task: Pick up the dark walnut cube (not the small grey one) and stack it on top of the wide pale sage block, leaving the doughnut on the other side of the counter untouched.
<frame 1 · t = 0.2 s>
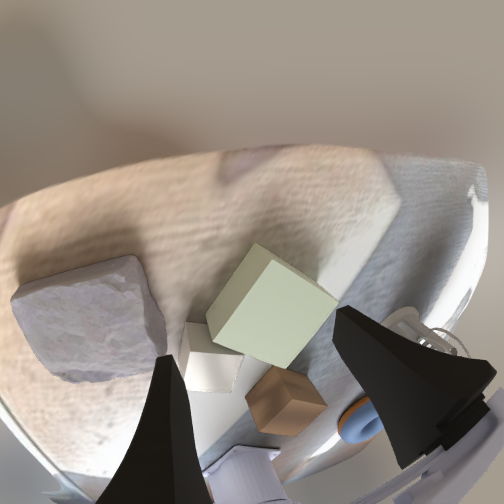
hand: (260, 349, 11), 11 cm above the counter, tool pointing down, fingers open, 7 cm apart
doughnut: (361, 409, 35), on the counter
walnut cube: (276, 386, 27), on the counter
sage block: (262, 296, 23), on the counter
grey cube: (204, 343, 23), on the counter
french press: (392, 334, 30), on the counter
stone block: (95, 318, 20), on the counter
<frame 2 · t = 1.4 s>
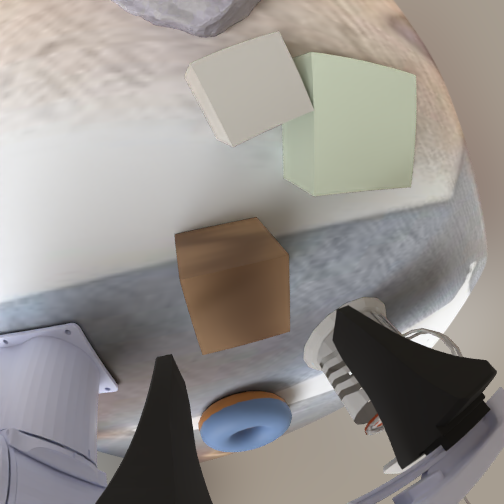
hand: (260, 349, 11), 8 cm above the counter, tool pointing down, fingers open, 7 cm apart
doughnut: (240, 408, 27), on the counter
walnut cube: (221, 260, 18), on the counter
sage block: (331, 120, 16), on the counter
grey cube: (233, 92, 13), on the counter
french press: (351, 329, 26), on the counter
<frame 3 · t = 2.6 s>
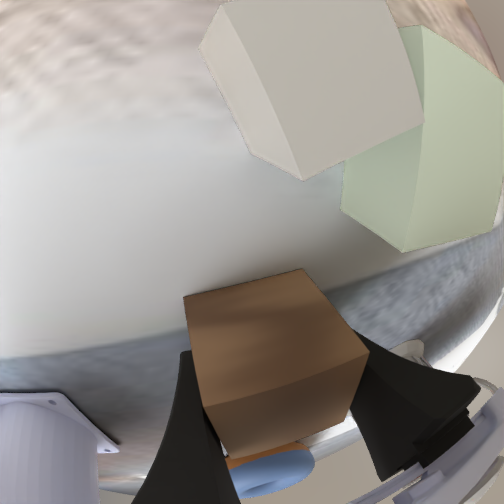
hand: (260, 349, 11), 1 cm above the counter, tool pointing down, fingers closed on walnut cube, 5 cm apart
doughnut: (257, 455, 22), on the counter
walnut cube: (250, 327, 12), on the counter, touching gripper
sage block: (404, 131, 10), on the counter
grey cube: (278, 78, 8), on the counter
french press: (387, 372, 20), on the counter
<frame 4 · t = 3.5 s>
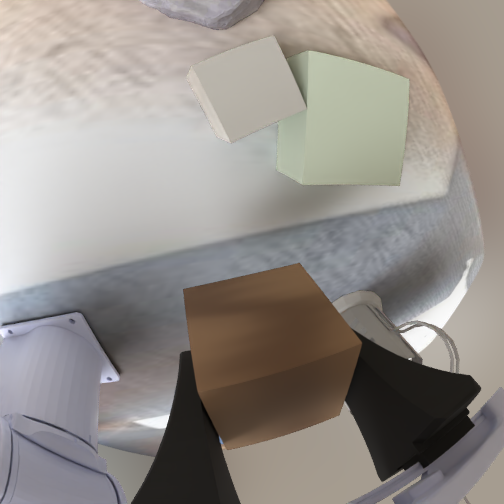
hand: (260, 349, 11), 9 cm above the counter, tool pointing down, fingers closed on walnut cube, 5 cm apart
walnut cube: (248, 320, 13), point 7 cm above the counter, touching gripper
sage block: (326, 118, 16), on the counter
grey cube: (232, 92, 14), on the counter
french press: (348, 322, 26), on the counter
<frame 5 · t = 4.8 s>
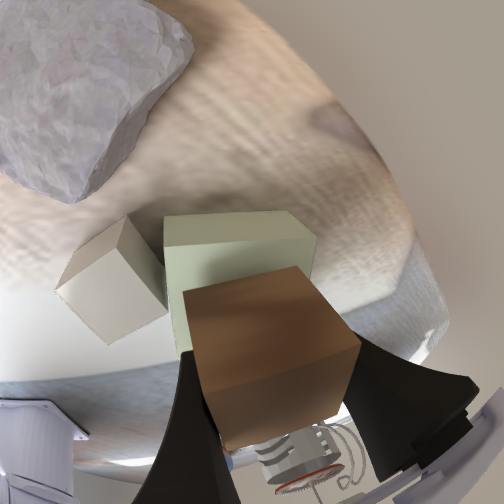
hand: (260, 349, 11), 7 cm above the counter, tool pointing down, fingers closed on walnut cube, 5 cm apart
walnut cube: (246, 321, 13), point 5 cm above the counter, touching gripper
sage block: (225, 265, 17), on the counter
grey cube: (119, 260, 15), on the counter
french press: (281, 404, 27), on the counter
stone block: (58, 84, 10), on the counter
when the fingers open (7 cm above the counter, at t = 5.2 s): walnut cube drops 1 cm, resting on sage block.
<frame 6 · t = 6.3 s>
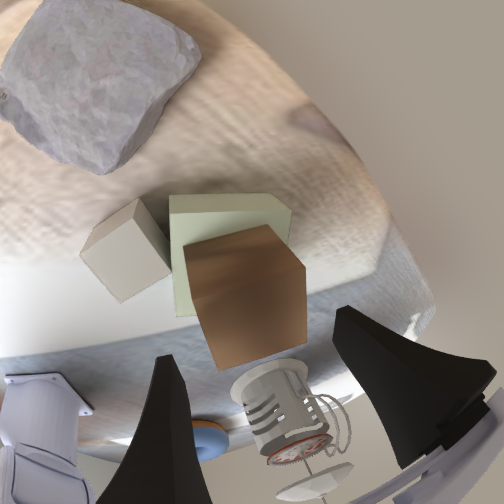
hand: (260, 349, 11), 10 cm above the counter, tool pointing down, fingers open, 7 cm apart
doughnut: (190, 430, 32), on the counter
walnut cube: (233, 271, 17), point 4 cm above the counter, touching sage block
sage block: (218, 239, 20), on the counter, touching walnut cube
grey cube: (131, 235, 18), on the counter
french press: (273, 379, 30), on the counter
stone block: (88, 80, 13), on the counter
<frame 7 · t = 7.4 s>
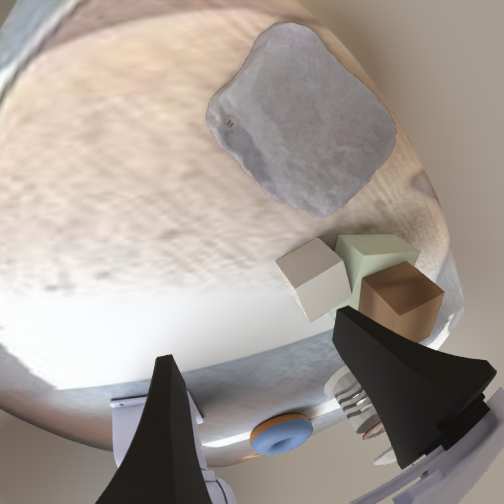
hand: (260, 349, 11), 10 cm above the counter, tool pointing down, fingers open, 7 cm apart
doughnut: (277, 424, 38), on the counter
walnut cube: (381, 292, 22), point 4 cm above the counter
sage block: (357, 266, 26), on the counter
grey cube: (303, 266, 23), on the counter
french press: (356, 371, 36), on the counter
stone block: (291, 125, 18), on the counter
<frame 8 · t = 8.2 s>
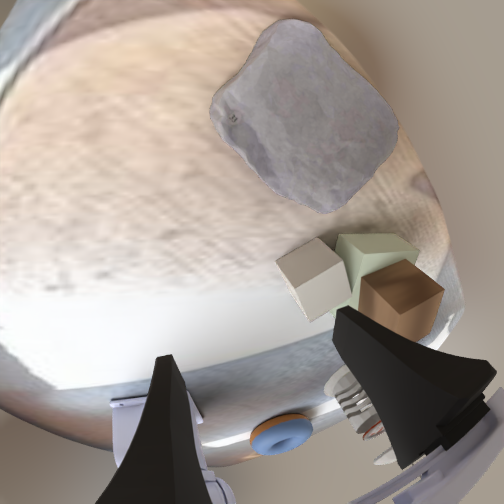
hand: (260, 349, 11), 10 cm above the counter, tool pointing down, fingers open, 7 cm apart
doughnut: (277, 425, 38), on the counter
walnut cube: (381, 290, 22), point 4 cm above the counter, touching sage block
sage block: (358, 265, 26), on the counter, touching walnut cube
grey cube: (303, 266, 23), on the counter
french press: (356, 371, 36), on the counter
stone block: (294, 122, 18), on the counter
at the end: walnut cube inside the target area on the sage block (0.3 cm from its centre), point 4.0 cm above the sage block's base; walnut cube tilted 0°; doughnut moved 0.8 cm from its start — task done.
